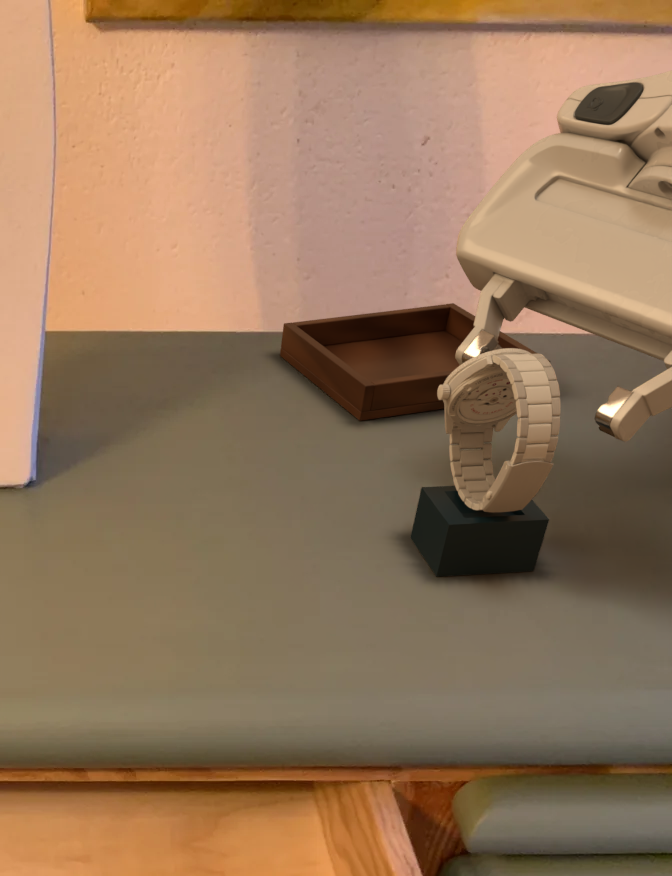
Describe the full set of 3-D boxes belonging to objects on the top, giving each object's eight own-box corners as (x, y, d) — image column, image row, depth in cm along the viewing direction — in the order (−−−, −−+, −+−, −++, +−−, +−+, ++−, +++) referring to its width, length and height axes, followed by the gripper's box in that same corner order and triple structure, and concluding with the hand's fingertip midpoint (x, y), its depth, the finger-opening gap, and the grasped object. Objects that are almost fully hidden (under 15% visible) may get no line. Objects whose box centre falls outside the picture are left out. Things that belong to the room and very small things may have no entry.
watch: (490, 516, 68) (541, 326, 60) (546, 587, 62) (611, 386, 55) (397, 521, 67) (438, 329, 60) (446, 593, 61) (497, 391, 54)
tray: (446, 334, 90) (453, 302, 88) (541, 395, 81) (551, 360, 80) (279, 355, 87) (283, 323, 85) (359, 421, 78) (365, 386, 76)
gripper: (938, 262, 53) (721, 508, 55) (581, 166, 66) (420, 368, 68) (932, 165, 48) (695, 439, 51) (549, 82, 61) (377, 303, 64)
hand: (534, 397), depth 60 cm, fingers open, 8 cm apart
